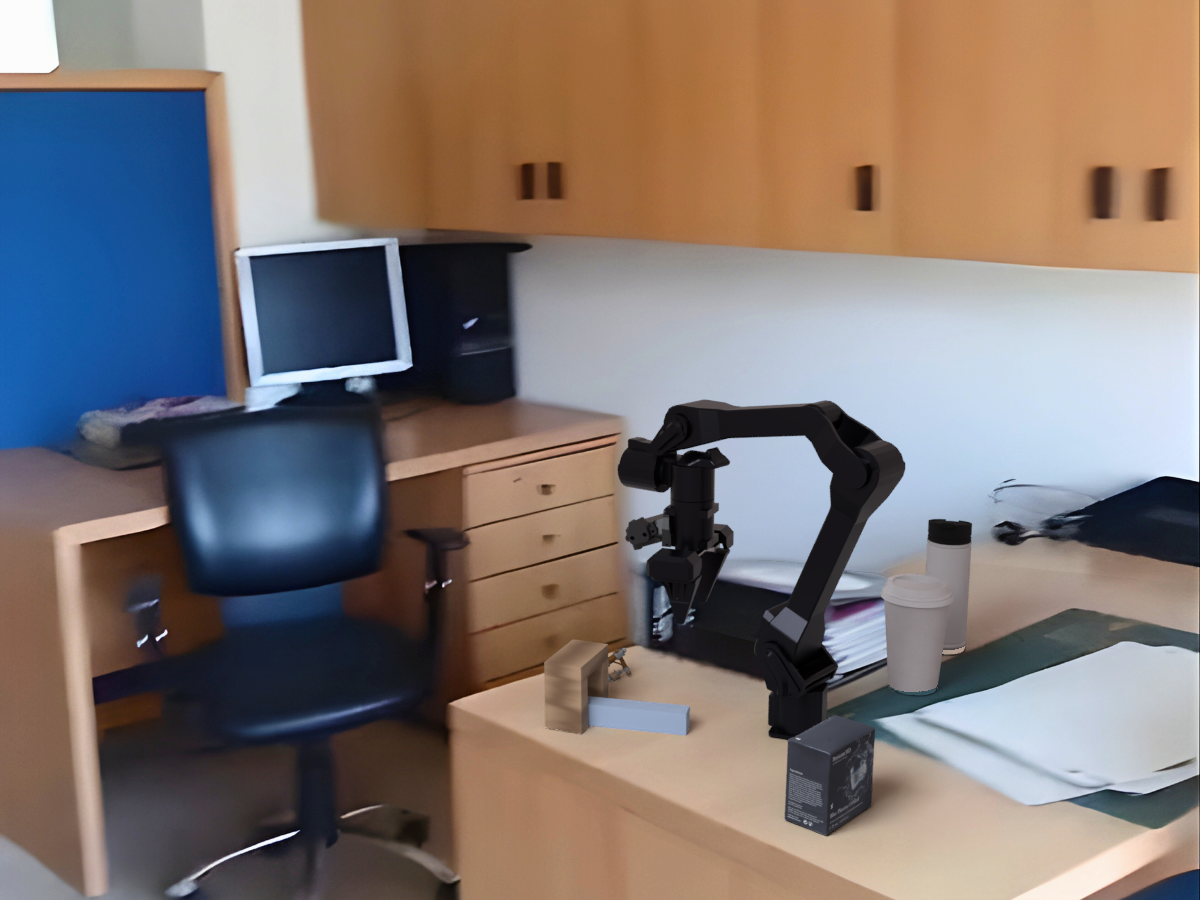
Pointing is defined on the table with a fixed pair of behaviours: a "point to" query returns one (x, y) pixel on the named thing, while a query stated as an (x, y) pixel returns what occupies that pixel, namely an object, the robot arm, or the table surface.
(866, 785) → the box
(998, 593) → the table surface
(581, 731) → the wooden block
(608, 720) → the light blue rectangular bar
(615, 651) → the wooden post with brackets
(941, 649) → the coffee cup
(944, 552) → the travel mug
